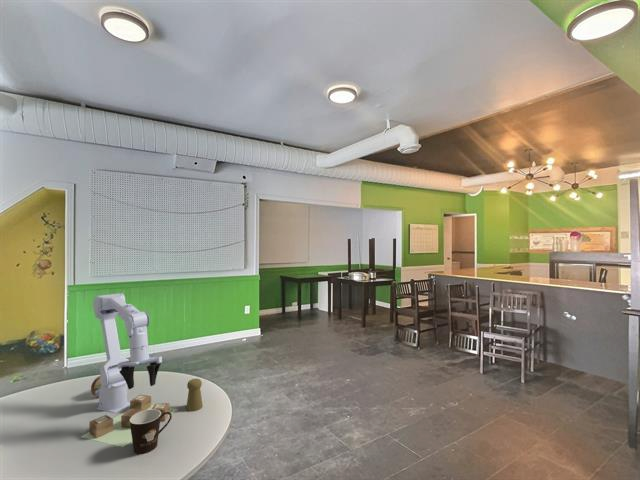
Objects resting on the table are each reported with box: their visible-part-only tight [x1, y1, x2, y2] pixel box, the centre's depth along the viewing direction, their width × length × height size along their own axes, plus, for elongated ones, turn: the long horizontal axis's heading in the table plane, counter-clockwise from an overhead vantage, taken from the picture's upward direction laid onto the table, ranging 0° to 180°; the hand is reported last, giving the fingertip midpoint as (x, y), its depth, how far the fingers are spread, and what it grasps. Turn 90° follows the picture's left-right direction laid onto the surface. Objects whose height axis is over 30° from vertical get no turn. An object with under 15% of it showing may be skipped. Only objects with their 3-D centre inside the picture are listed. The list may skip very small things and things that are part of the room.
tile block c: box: [129, 394, 152, 410], centre depth 124 cm, size 5×5×4 cm
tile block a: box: [88, 414, 113, 438], centre depth 109 cm, size 5×5×4 cm
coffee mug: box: [130, 409, 173, 455], centre depth 101 cm, size 12×9×10 cm
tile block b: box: [152, 402, 170, 422], centre depth 118 cm, size 5×5×4 cm
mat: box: [80, 403, 179, 448], centre depth 115 cm, size 18×24×1 cm
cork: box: [185, 378, 204, 413], centre depth 125 cm, size 6×6×11 cm
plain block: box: [121, 408, 144, 428], centre depth 114 cm, size 5×5×4 cm
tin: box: [90, 375, 102, 398], centre depth 139 cm, size 15×3×8 cm, turn 155°
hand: (142, 386), depth 113 cm, fingers open, 7 cm apart
